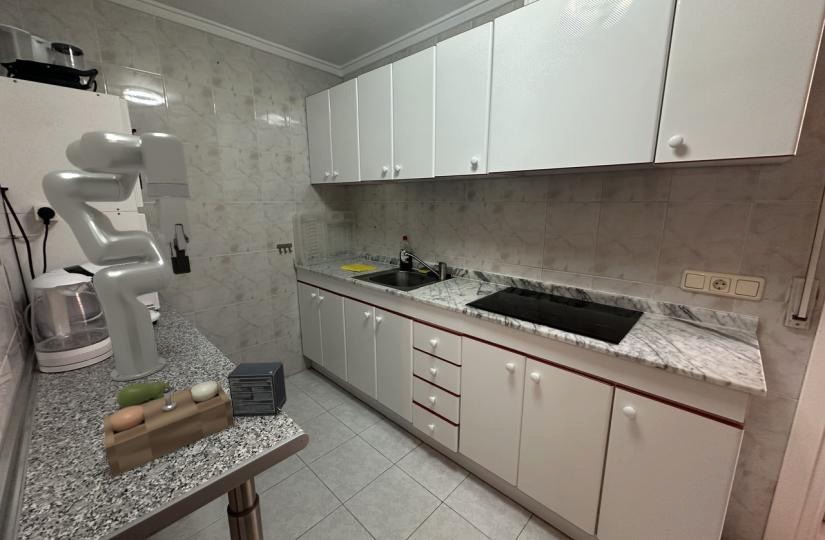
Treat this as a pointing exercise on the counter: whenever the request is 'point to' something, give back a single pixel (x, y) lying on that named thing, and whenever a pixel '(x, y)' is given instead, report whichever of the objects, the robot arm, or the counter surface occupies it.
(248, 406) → the small box
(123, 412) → the knob terracotta
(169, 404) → the pot stem
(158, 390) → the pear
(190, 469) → the counter surface
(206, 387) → the knob cream
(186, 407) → the wooden condiment caddy
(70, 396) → the counter surface
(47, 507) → the counter surface
